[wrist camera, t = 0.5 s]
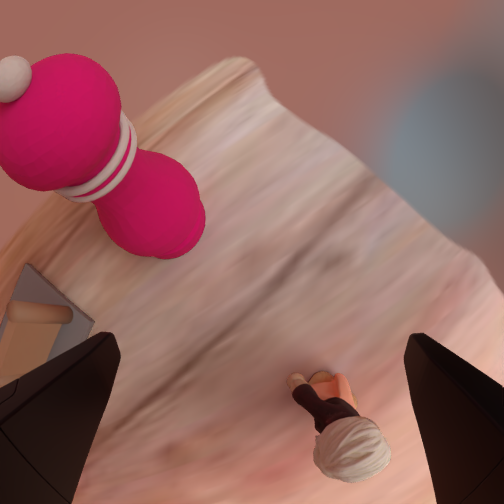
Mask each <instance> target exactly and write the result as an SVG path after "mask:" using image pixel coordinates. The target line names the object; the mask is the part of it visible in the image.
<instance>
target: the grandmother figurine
mask: <svg viewBox="0 0 504 504" xmlns="http://www.w3.org/2000/svg"><path fill="white" fill-rule="evenodd" d="M287 385H288V386H289V388H291V391H292V396H293V398H294V400H295V401H296V402H297V403H298V404H299V405H301V406H302V407H304V408H305V409H306V410H307V411H308V412H309V413H310V414H311V415H312V416H313V417H314V420H315V429H316V430H317V431H318V432H319V433H320V435H318V436H317V435H316V436H315V437H316V440H315V441H316V446H315V448H314V451H313V456H314V463H315V465H316V466H317V467H318V468H319V469H320V470H321V471H322V473H323V474H324V475H326V476H327V477H329V478H333V479H338V480H341V481H344V482H348V483H354V482H359V481H363V480H366V479H368V478H370V477H372V476H374V475H375V474H377V473H379V472H380V471H382V470H383V469H384V468H385V467H386V466H387V464H388V463H389V461H390V459H391V449H390V446H389V444H388V442H387V440H386V438H385V437H384V436H383V434H382V433H381V431H380V429H379V427H378V426H377V425H376V424H375V423H374V422H373V421H372V420H370V419H368V418H366V417H361V416H360V415H359V414H358V412H357V411H356V407H357V399H356V397H355V396H354V395H353V394H352V393H351V390H350V387H349V384H348V382H347V379H346V378H345V376H343V375H342V374H340V373H336V374H335V376H334V377H333V376H332V375H331V374H329V373H328V372H324V371H321V372H317V373H316V374H314V375H313V377H312V378H311V379H310V381H309V382H308V383H307V382H306V381H305V380H304V377H303V376H302V375H301V374H299V373H292V374H291V375H289V376H288V378H287Z"/></svg>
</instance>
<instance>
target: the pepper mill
mask: <svg viewBox="0 0 504 504" xmlns="http://www.w3.org/2000/svg"><path fill="white" fill-rule="evenodd" d="M0 166H1V167H2V168H3V170H4V171H5V172H6V173H7V174H8V176H9V177H10V178H11V179H13V180H14V181H15V182H17V183H18V184H20V185H22V186H24V187H26V188H28V189H33V190H37V191H50V190H53V191H54V192H56V193H58V194H60V195H62V196H63V197H65V198H66V199H68V200H70V201H73V202H79V203H84V202H90V201H91V202H92V203H93V204H95V206H96V209H97V212H98V216H99V219H100V222H101V224H102V226H103V228H104V229H105V231H106V232H107V234H108V235H109V237H110V238H111V239H112V240H113V241H114V242H115V243H116V244H117V245H118V246H120V247H121V248H123V249H124V250H126V251H128V252H129V253H132V254H135V255H139V256H150V257H151V256H154V257H157V258H161V259H171V258H176V257H179V256H181V255H184V254H185V253H187V252H188V251H190V250H191V249H192V248H193V247H194V246H195V245H196V244H197V242H198V241H199V239H200V237H201V235H202V233H203V230H204V227H205V210H204V207H203V204H202V202H201V201H200V196H199V191H198V187H197V184H196V182H195V180H194V178H193V177H192V176H191V174H190V173H189V172H188V171H187V170H186V169H185V168H184V167H183V166H182V165H181V164H180V163H179V162H177V161H176V160H174V159H172V158H170V157H168V156H165V155H163V154H161V153H157V152H151V151H145V150H141V149H139V148H138V147H137V135H136V132H135V129H134V127H133V125H132V123H131V122H130V121H129V120H128V119H127V118H126V116H125V114H124V113H123V112H122V111H121V101H120V96H119V92H118V88H117V86H116V84H115V82H114V80H113V79H112V77H111V76H110V75H109V74H108V72H107V71H106V70H105V69H104V68H103V67H101V65H100V64H98V63H97V62H95V61H93V60H92V59H90V58H88V57H85V56H82V55H77V54H68V53H65V54H59V55H54V56H50V57H47V58H45V59H43V60H41V61H39V62H37V63H35V64H33V65H32V66H30V64H29V63H28V61H27V60H25V59H24V58H22V57H19V56H9V57H6V58H4V59H2V60H1V61H0Z"/></svg>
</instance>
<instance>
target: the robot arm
mask: <svg viewBox="0 0 504 504" xmlns="http://www.w3.org/2000/svg"><path fill="white" fill-rule="evenodd" d="M120 358H121V355H120V350H119V348H118V345H117V342H116V339H115V336H114V334H113V333H111V332H99V333H98V334H96V335H94V336H92V337H90V338H89V339H87V340H85V341H83V342H81V343H80V344H78V345H76V346H74V347H73V348H71V349H69V350H67V351H65V352H64V353H62V354H60V355H58V356H56V357H55V358H53V359H51V360H49V361H47V362H46V363H44V364H42V365H40V366H39V367H37V368H35V369H33V370H31V371H30V372H28V373H26V374H24V375H23V376H21V377H19V378H17V379H15V380H14V381H12V382H10V383H8V384H6V385H4V386H3V387H1V388H0V504H72V501H73V498H74V494H75V491H76V488H77V485H78V482H79V479H80V476H81V473H82V470H83V468H84V465H85V462H86V459H87V456H88V453H89V451H90V448H91V445H92V442H93V440H94V437H95V434H96V432H97V429H98V426H99V424H100V421H101V418H102V416H103V413H104V411H105V408H106V406H107V403H108V400H109V397H110V394H111V391H112V387H113V384H114V380H115V376H116V373H117V370H118V366H119V363H120ZM404 365H405V370H406V375H407V380H408V385H409V391H410V396H411V401H412V406H413V410H414V413H415V416H416V420H417V423H418V427H419V431H420V434H421V438H422V442H423V445H424V449H425V453H426V457H427V461H428V465H429V470H430V474H431V478H432V483H433V487H434V492H435V497H436V502H437V504H504V387H502V385H500V384H499V383H497V382H496V381H495V380H493V379H492V378H490V377H489V376H487V375H486V374H484V373H483V372H481V371H480V370H478V369H477V368H475V367H474V366H473V365H471V364H470V363H468V362H467V361H465V360H464V359H462V358H461V357H459V356H458V355H456V354H455V353H453V352H452V351H450V350H449V349H447V348H446V347H444V346H443V345H441V344H440V343H438V342H437V341H435V340H434V339H432V338H431V337H429V336H428V335H426V334H424V333H413V334H411V335H410V336H409V339H408V343H407V346H406V350H405V354H404Z"/></svg>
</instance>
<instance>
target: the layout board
mask: <svg viewBox="0 0 504 504" xmlns="http://www.w3.org/2000/svg"><path fill="white" fill-rule="evenodd" d="M94 322H95V321H93V320H92V319H91V318H90V317H88V316H87V315H86V314H85V313H84V312H82V311H81V310H80V309H79V308H78V307H77V306H75V305H74V304H73V303H72V302H71V301H70V300H69V299H67V298H66V297H65V296H64V295H63V294H62V293H61V292H60V291H58V290H57V289H56V288H55V287H54V286H53V285H52V284H51V283H50V282H49V281H48V280H47V279H45V278H44V277H43V276H42V275H41V274H40V273H39V272H38V271H37V270H36V269H35V268H34V267H33V266H32V265H31V264H27V263H26V264H25V266H24V268H23V270H22V273H21V275H20V277H19V280H18V282H17V284H16V287H15V289H14V292H13V294H12V297H11V299H10V302H9V303H8V305H7V308H6V312H5V315H4V318H3V320H2V323H1V326H0V388H1V387H3V386H4V385H6V384H8V383H10V382H12V381H14V380H15V379H17V378H19V377H21V376H23V375H24V374H26V373H28V372H30V371H31V370H33V369H35V368H37V367H39V366H40V365H42V364H44V363H46V362H47V361H49V360H51V359H53V358H55V357H56V356H58V355H60V354H62V353H64V352H65V351H67V350H69V349H71V348H73V347H74V346H76V345H78V344H80V343H81V342H83V341H85V340H86V339H87V337H88V335H89V332H90V330H91V328H92V326H93V324H94Z"/></svg>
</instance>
